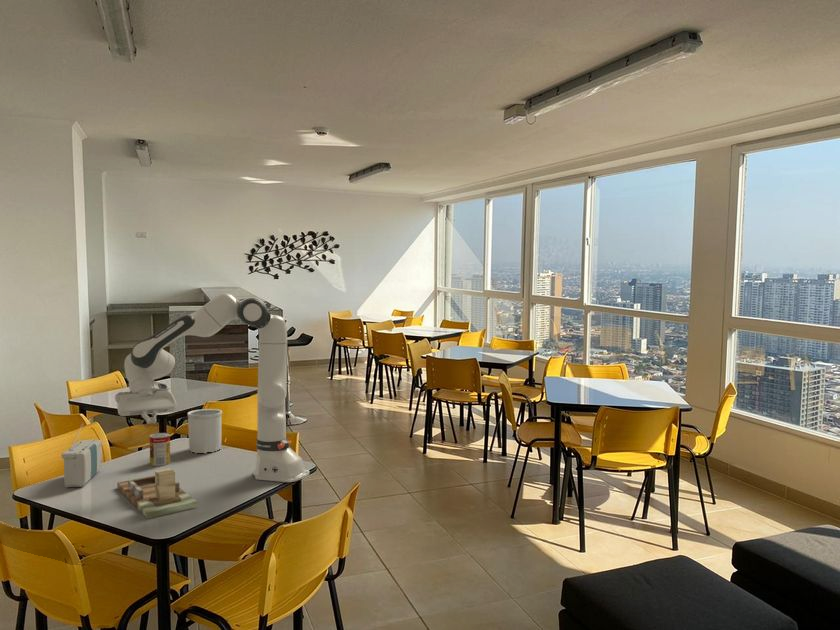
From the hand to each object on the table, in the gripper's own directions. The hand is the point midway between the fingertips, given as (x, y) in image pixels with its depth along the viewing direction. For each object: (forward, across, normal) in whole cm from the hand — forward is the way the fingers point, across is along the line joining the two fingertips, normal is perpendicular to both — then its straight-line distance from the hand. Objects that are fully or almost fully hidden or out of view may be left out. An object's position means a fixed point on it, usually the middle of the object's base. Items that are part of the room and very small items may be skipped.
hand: (151, 422), depth 219 cm
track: (+23, 0, +12) cm, 26 cm away
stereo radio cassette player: (-1, -12, +41) cm, 43 cm away
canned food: (-3, +17, +40) cm, 44 cm away
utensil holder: (-9, +40, +44) cm, 61 cm away
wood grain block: (+29, -1, +3) cm, 29 cm away
